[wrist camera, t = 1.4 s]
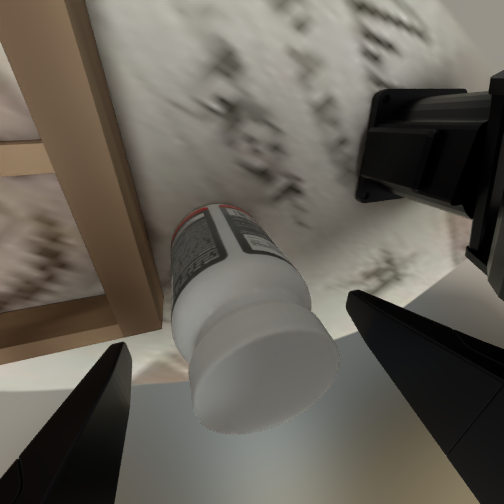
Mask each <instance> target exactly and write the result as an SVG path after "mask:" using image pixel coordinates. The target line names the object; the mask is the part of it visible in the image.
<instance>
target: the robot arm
mask: <svg viewBox="0 0 504 504" xmlns="http://www.w3.org/2000/svg"><path fill="white" fill-rule="evenodd" d="M383 97H385V101H384V103H382V100H383ZM365 193H366V194H365ZM364 194H365V196H364V197H363V195H364ZM400 198H408V199H411V200H414V201H417V202H420V203H423V204H426V205H429V206H432V207H435V208H438V209H441V210H444V211H447V212H450V213H453V214H456V215H459V216H462V217H465V218H468V219H471V220H473V221H472V228H471V234H470V241H469V245H468V246H467V247H466V253H465V256H466V257H467V258H468V259H469V260H470V261H471V262H472V263H474V264H475V265H476V266H477V267H478V268H479V269H480V270H482V272H483V273H485V274H486V275H487V276H488V281H489V283H490V285H491V286H492V288H493V289H494V291H495V292H496V294H497V295H498V297H499V298H500V299H502V300H503V301H504V70H503V71H501V72H499V73H497V74H495V75H493V76H492V77H491V79H490V86H489V91H484V92H474V93H467V90H466V89H385V90H381V91H379V92H378V93H377V94H376V96H375V98H374V102H373V108H372V113H371V118H370V124H369V129H368V134H367V140H366V145H365V151H364V156H363V161H362V167H361V172H360V177H359V183H358V188H357V194H356V199H357V200H358V201H360V202H362V203H369V202H377V201H384V200H392V199H400ZM346 310H347V312H348V314H349V315H350V317H351V319H352V321H353V322H354V324H355V326H356V327H357V329H358V331H359V333H360V334H361V336H362V338H363V339H364V341H365V343H366V344H367V346H368V347H369V348H370V350H371V351H372V353H373V354H374V355H375V357H376V358H377V359H378V361H379V362H380V364H381V365H382V367H383V368H384V369H385V371H386V372H387V373H388V375H389V376H390V378H391V379H392V380H393V382H394V383H395V385H396V386H397V387H398V389H399V390H400V391H401V393H402V395H403V396H404V397H405V399H406V400H407V401H408V403H409V404H410V406H411V407H412V409H413V410H414V411H415V413H416V414H417V416H418V417H419V418H420V420H421V421H422V423H423V424H424V425H425V427H426V428H427V429H428V431H429V432H430V434H431V435H432V437H433V438H434V439H435V441H436V442H437V444H438V445H439V446H440V448H441V449H442V451H443V452H444V453H445V455H447V458H448V459H449V461H450V462H451V463H452V465H453V466H454V468H455V469H456V470H457V472H458V473H459V475H460V476H461V477H462V478H463V480H464V482H465V483H466V484H467V486H468V487H469V488H470V490H471V491H472V493H473V494H474V495H475V497H476V498H477V500H478V501H479V503H480V504H504V349H502V348H500V347H497V346H494V345H492V344H489V343H486V342H483V341H481V340H479V339H476V338H474V337H471V336H469V335H466V334H464V333H462V332H459V331H457V330H453V329H451V328H450V327H447V326H445V325H442V324H440V323H438V322H435V321H433V320H430V319H428V318H426V317H423V316H421V315H418V314H416V313H414V312H411V311H409V310H407V309H404V308H402V307H399V306H397V305H395V304H392V303H390V302H387V301H385V300H383V299H380V298H378V297H375V296H373V295H371V294H368V293H366V292H364V291H361V290H353V291H350V292H349V293H348V298H347V302H346ZM131 377H132V358H131V355H130V352H129V350H128V348H127V345H126V343H125V342H119V343H115V344H112V345H111V346H109V348H108V349H107V350H106V351H105V352H104V354H103V355H102V356H101V357H100V359H99V360H98V361H97V362H96V363H95V365H94V366H93V367H92V368H91V369H90V371H89V372H88V373H87V374H86V376H85V377H84V378H83V379H82V380H81V382H80V383H79V384H78V385H77V386H76V388H75V389H74V390H73V391H72V393H71V394H70V395H69V396H68V397H67V399H66V400H65V401H64V402H63V403H62V405H61V406H60V407H59V408H58V410H57V411H56V412H55V413H54V414H53V416H52V417H51V418H50V419H49V420H48V422H47V423H46V424H45V425H44V426H43V428H42V429H41V430H40V431H39V432H38V434H37V435H36V436H35V438H33V440H32V441H31V442H30V444H29V445H28V446H27V447H26V448H25V449H24V451H23V452H22V453H21V454H20V456H19V459H16V460H15V461H14V463H13V464H12V465H11V466H10V468H9V469H8V470H7V471H6V472H5V474H4V475H3V476H2V477H1V478H0V504H114V502H115V496H116V490H117V484H118V478H119V471H120V466H121V460H122V453H123V448H124V441H125V435H126V429H127V422H128V417H129V410H130V397H131Z"/></svg>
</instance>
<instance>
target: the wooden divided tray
mask: <svg viewBox="0 0 504 504" xmlns="http://www.w3.org/2000/svg"><path fill="white" fill-rule="evenodd" d="M0 42H1V44H2V46H3V49H4V51H5V54H6V56H7V58H8V61H9V63H10V66H11V68H12V70H13V73H14V75H15V78H16V80H17V82H18V85H19V87H20V90H21V92H22V94H23V97H24V99H25V102H26V104H27V106H28V109H29V111H30V114H31V116H32V118H33V121H34V123H35V126H36V128H37V130H38V133H39V135H40V138H41V140H19V141H0V177H4V176H18V175H31V174H45V173H55V174H56V176H57V178H58V181H59V183H60V186H61V188H62V190H63V193H64V195H65V198H66V200H67V202H68V205H69V207H70V210H71V212H72V215H73V217H74V219H75V222H76V224H77V227H78V229H79V231H80V234H81V236H82V239H83V241H84V243H85V246H86V248H87V251H88V253H89V255H90V258H91V260H92V263H93V265H94V267H95V270H96V272H97V275H98V277H99V279H100V282H101V284H102V287H103V289H104V291H105V295H100V296H94V297H89V298H83V299H78V300H72V301H67V302H61V303H56V304H50V305H44V306H39V307H33V308H28V309H22V310H17V311H11V312H6V313H0V365H2V364H7V363H11V362H16V361H20V360H25V359H29V358H34V357H38V356H43V355H47V354H52V353H56V352H61V351H65V350H70V349H74V348H79V347H83V346H88V345H92V344H97V343H101V342H106V341H110V340H115V339H119V338H124V337H128V336H133V335H137V334H142V333H146V332H151V331H155V330H160V329H162V317H163V299H164V296H163V292H162V288H161V285H160V281H159V277H158V273H157V270H156V266H155V262H154V258H153V255H152V251H151V247H150V243H149V240H148V236H147V232H146V229H145V225H144V221H143V217H142V214H141V210H140V206H139V202H138V199H137V195H136V191H135V187H134V184H133V180H132V176H131V172H130V169H129V165H128V161H127V157H126V154H125V150H124V146H123V143H122V139H121V135H120V131H119V128H118V124H117V120H116V116H115V113H114V109H113V105H112V101H111V98H110V94H109V90H108V86H107V83H106V79H105V75H104V71H103V68H102V64H101V60H100V56H99V53H98V49H97V45H96V42H95V38H94V34H93V30H92V27H91V23H90V19H89V15H88V12H87V8H86V4H85V0H0Z"/></svg>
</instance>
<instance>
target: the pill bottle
mask: <svg viewBox="0 0 504 504" xmlns="http://www.w3.org/2000/svg"><path fill="white" fill-rule="evenodd" d="M171 325H172V334H173V339H174V341H175V344H176V347H177V349H178V350H179V352H180V353H181V355H182V356H183V357H184V359H185V360H186V361H187V362H189V363H190V364H189V379H190V387H191V397H192V405H193V410H194V413H195V415H196V417H197V419H198V420H199V421H200V422H201V424H202V425H204V426H205V427H206V428H208V429H210V430H213V431H216V432H219V433H225V434H247V433H253V432H258V431H262V430H266V429H269V428H272V427H274V426H277V425H280V424H282V423H284V422H287V421H289V420H291V419H292V418H294V417H296V416H297V415H299V414H301V413H302V412H304V411H305V410H307V409H308V408H309V407H311V406H312V405H313V404H314V403H315V402H317V401H318V400H319V399H320V398H321V397H322V396H323V395H324V394H325V393H326V391H327V390H328V389H329V387H330V386H331V384H332V383H333V381H334V379H335V378H336V375H337V373H338V369H339V365H340V354H339V350H338V347H337V345H336V344H335V342H334V340H333V339H332V337H331V336H330V334H329V333H328V331H327V330H326V328H325V327H324V326H323V324H322V323H321V321H320V320H319V319H318V318H317V316H316V315H315V314H314V313H312V312H311V298H310V293H309V290H308V287H307V285H306V283H305V281H304V280H303V278H302V277H301V275H300V274H299V272H298V271H297V270H296V268H295V267H294V266H293V265H292V264H291V263H290V262H289V260H288V259H287V258H286V257H285V256H284V254H283V253H282V252H281V251H280V250H279V248H278V247H277V246H276V245H275V244H274V242H273V241H272V240H271V239H270V238H269V237H268V235H267V234H266V233H265V232H264V231H263V229H262V228H261V227H260V226H259V225H258V224H257V222H256V221H255V220H254V219H253V218H252V217H251V216H250V215H249V214H248V213H246V212H245V211H244V210H242V209H240V208H238V207H235V206H232V205H226V204H212V205H207V206H204V207H201V208H199V209H196V210H195V211H193V212H191V213H190V214H189V215H187V216H186V217H185V218H184V219H183V220H182V221H181V222H180V224H179V225H178V227H177V228H176V230H175V232H174V235H173V238H172V243H171Z"/></svg>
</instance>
